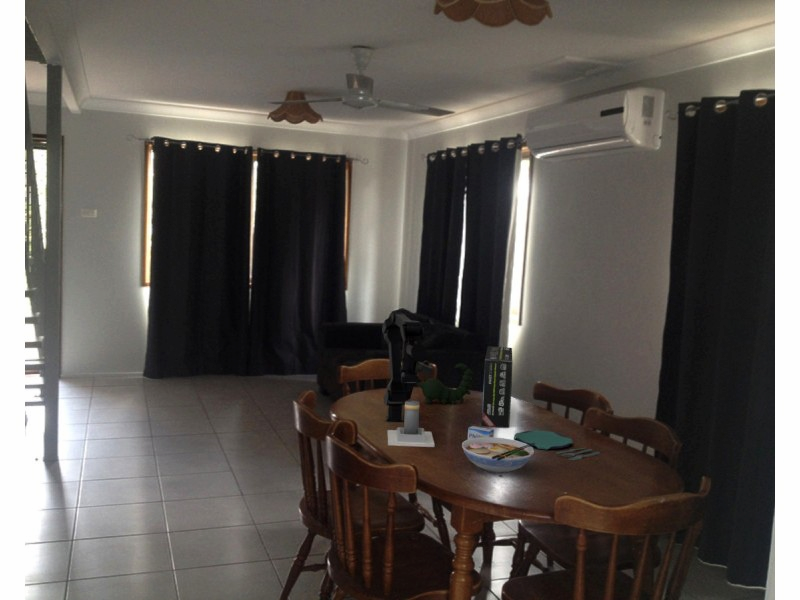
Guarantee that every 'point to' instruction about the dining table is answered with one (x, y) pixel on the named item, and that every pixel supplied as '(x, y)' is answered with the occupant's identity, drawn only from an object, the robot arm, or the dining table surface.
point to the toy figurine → (437, 391)
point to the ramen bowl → (497, 453)
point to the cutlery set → (550, 442)
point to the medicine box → (479, 432)
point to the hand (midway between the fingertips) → (408, 396)
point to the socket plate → (410, 438)
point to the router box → (497, 387)
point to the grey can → (411, 417)
